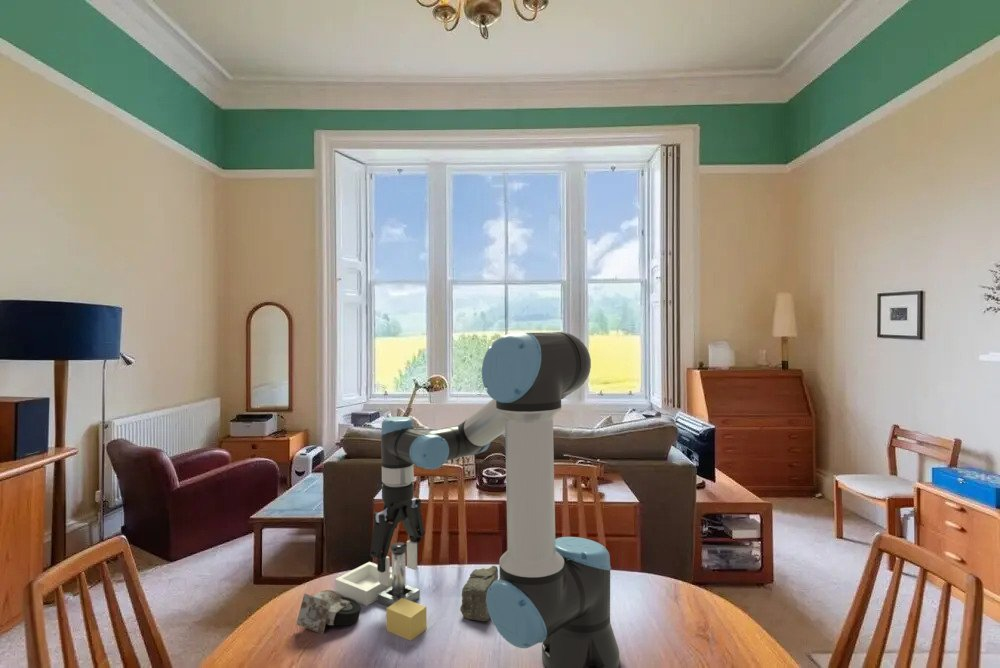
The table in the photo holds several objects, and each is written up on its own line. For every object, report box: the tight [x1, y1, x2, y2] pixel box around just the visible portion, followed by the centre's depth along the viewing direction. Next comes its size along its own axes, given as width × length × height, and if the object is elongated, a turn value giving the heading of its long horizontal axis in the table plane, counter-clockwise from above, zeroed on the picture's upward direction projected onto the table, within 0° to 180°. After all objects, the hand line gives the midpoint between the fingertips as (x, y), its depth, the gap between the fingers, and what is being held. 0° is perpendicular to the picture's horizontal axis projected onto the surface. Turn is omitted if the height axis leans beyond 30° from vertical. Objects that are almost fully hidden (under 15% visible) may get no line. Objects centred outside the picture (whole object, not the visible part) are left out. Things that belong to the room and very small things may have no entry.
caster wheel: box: [296, 589, 362, 635], centre depth 118 cm, size 7×11×10 cm
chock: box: [385, 598, 427, 641], centre depth 114 cm, size 7×5×5 cm
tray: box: [334, 561, 392, 607], centre depth 132 cm, size 11×11×4 cm
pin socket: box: [377, 584, 421, 607], centre depth 127 cm, size 7×7×2 cm
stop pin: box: [389, 542, 407, 598], centre depth 126 cm, size 4×4×13 cm
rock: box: [459, 565, 499, 622], centre depth 124 cm, size 17×7×10 cm
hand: (398, 575), depth 127 cm, fingers open, 9 cm apart
